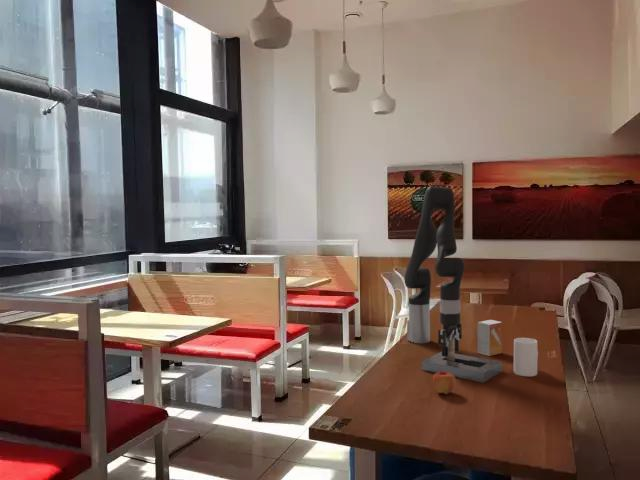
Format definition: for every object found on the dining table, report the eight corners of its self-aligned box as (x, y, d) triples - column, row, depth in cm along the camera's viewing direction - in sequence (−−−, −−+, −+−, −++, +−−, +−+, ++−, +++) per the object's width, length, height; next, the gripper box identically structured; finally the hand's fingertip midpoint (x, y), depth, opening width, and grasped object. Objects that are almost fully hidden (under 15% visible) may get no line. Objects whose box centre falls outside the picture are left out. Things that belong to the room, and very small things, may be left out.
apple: (451, 398, 170) (451, 374, 169) (429, 394, 174) (429, 370, 173) (458, 391, 176) (458, 367, 175) (437, 387, 180) (437, 364, 179)
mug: (538, 367, 199) (538, 336, 198) (537, 377, 188) (538, 344, 187) (514, 365, 202) (514, 334, 201) (513, 375, 191) (513, 342, 190)
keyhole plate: (422, 369, 199) (421, 360, 199) (442, 359, 211) (442, 351, 211) (483, 382, 184) (483, 372, 183) (501, 371, 196) (501, 361, 196)
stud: (441, 368, 200) (441, 337, 199) (447, 365, 204) (447, 334, 203) (453, 371, 197) (453, 339, 196) (459, 367, 201) (459, 336, 200)
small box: (489, 356, 215) (489, 324, 214) (477, 353, 220) (477, 321, 219) (502, 353, 219) (502, 321, 218) (490, 349, 224) (490, 319, 223)
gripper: (449, 306, 207) (450, 348, 208) (431, 313, 196) (432, 356, 197) (467, 309, 202) (468, 351, 203) (450, 315, 191) (450, 359, 192)
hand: (450, 353), depth 200 cm, fingers open, 8 cm apart
